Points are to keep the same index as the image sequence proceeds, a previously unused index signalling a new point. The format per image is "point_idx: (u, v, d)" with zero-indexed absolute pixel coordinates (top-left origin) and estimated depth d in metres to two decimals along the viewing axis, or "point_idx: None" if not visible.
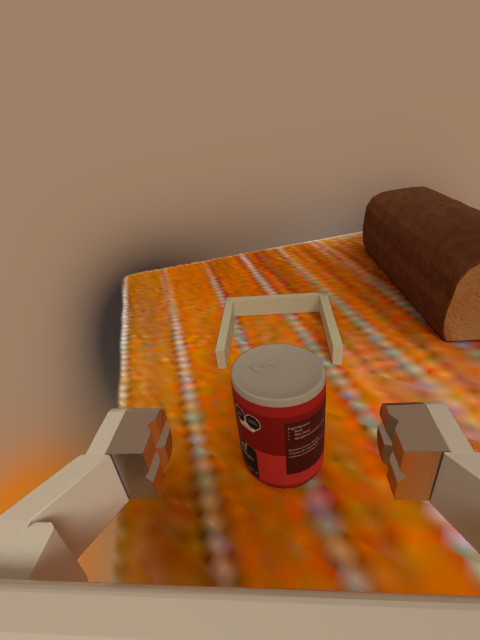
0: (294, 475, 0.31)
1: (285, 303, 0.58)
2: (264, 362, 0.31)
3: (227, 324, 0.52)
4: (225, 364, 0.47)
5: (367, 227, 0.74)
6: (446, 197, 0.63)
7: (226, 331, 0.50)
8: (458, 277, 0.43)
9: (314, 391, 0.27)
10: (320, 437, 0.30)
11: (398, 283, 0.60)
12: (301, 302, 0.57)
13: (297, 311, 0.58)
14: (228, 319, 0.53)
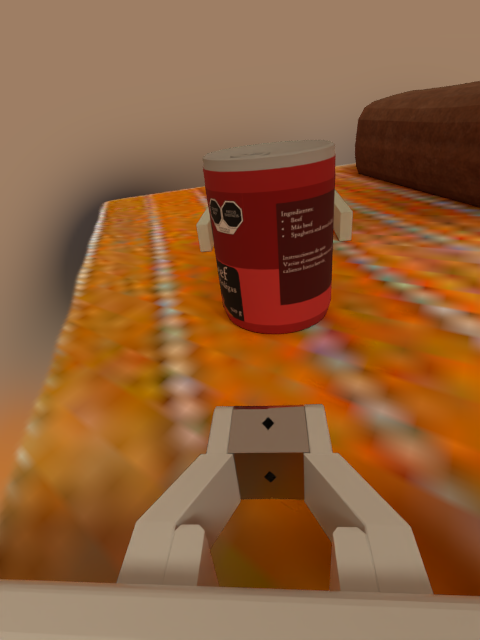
0: (291, 306, 0.22)
1: None
2: (249, 153, 0.22)
3: None
4: (209, 245, 0.39)
5: (363, 141, 0.64)
6: None
7: None
8: None
9: (320, 151, 0.19)
10: (327, 252, 0.22)
11: (425, 180, 0.50)
12: None
13: None
14: None
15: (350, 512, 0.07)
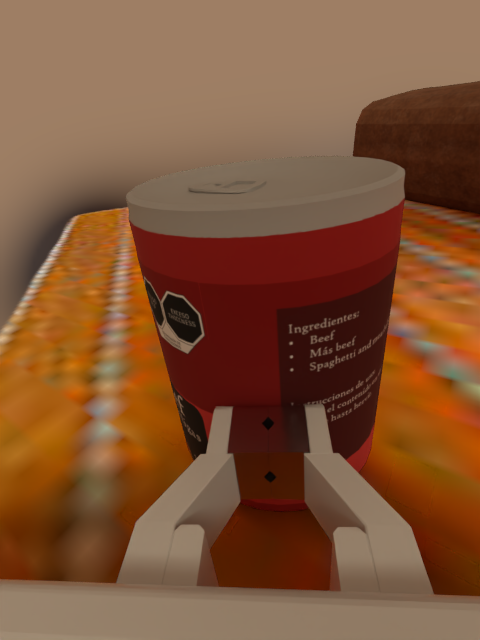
0: None
1: None
2: (227, 182, 0.12)
3: None
4: None
5: (368, 150, 0.51)
6: None
7: None
8: None
9: (382, 191, 0.08)
10: (376, 377, 0.11)
11: None
12: None
13: None
14: None
15: (350, 512, 0.07)
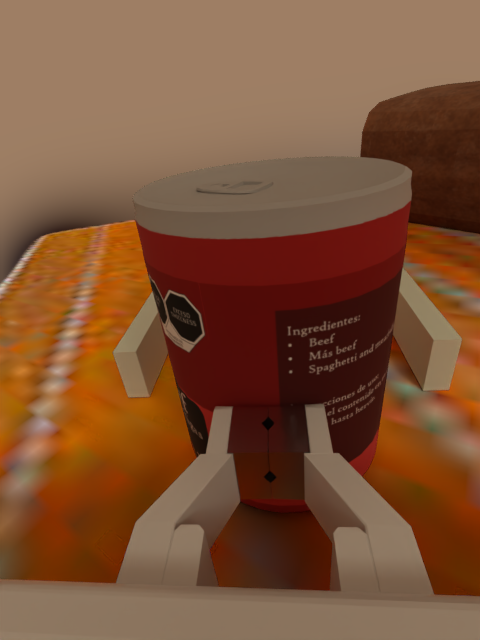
0: None
1: None
2: (235, 182, 0.12)
3: None
4: (144, 386, 0.19)
5: None
6: None
7: None
8: None
9: (385, 195, 0.08)
10: (380, 382, 0.11)
11: None
12: None
13: None
14: None
15: (350, 512, 0.07)
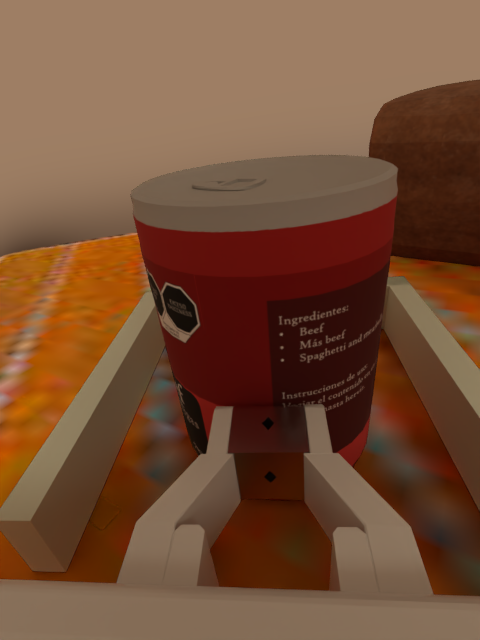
0: None
1: None
2: (229, 179, 0.12)
3: (109, 375, 0.16)
4: (55, 560, 0.11)
5: (409, 189, 0.28)
6: None
7: (92, 405, 0.14)
8: None
9: (370, 189, 0.08)
10: (369, 372, 0.11)
11: None
12: None
13: None
14: (121, 356, 0.17)
15: (350, 512, 0.07)
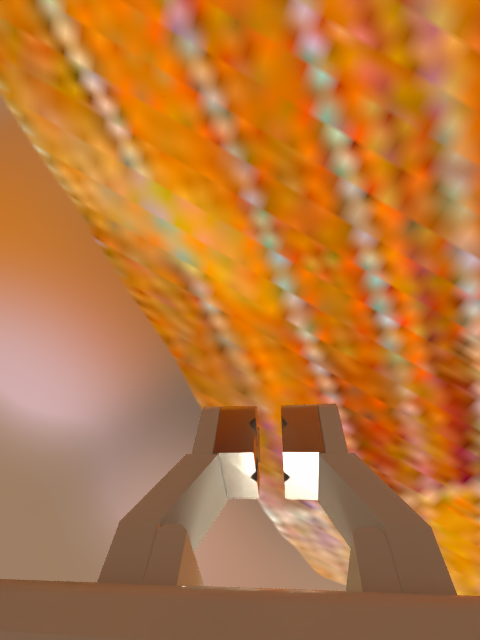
0: None
1: None
2: None
3: None
4: None
5: None
6: None
7: None
8: None
9: None
10: None
11: None
12: None
13: None
14: None
15: (368, 512, 0.07)
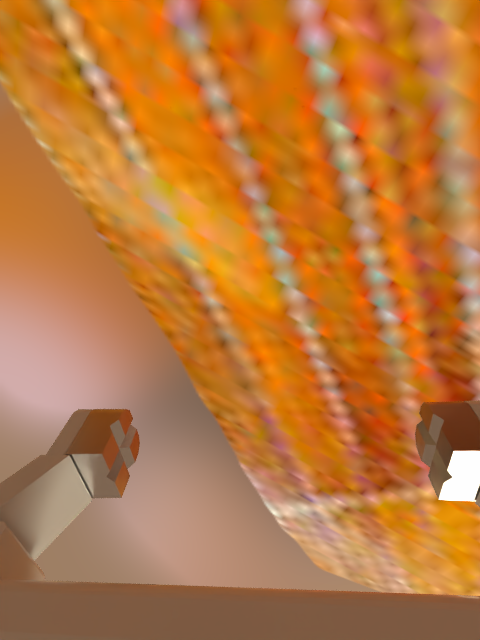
0: None
1: None
2: None
3: None
4: None
5: None
6: None
7: None
8: None
9: None
10: None
11: None
12: None
13: None
14: None
15: None
